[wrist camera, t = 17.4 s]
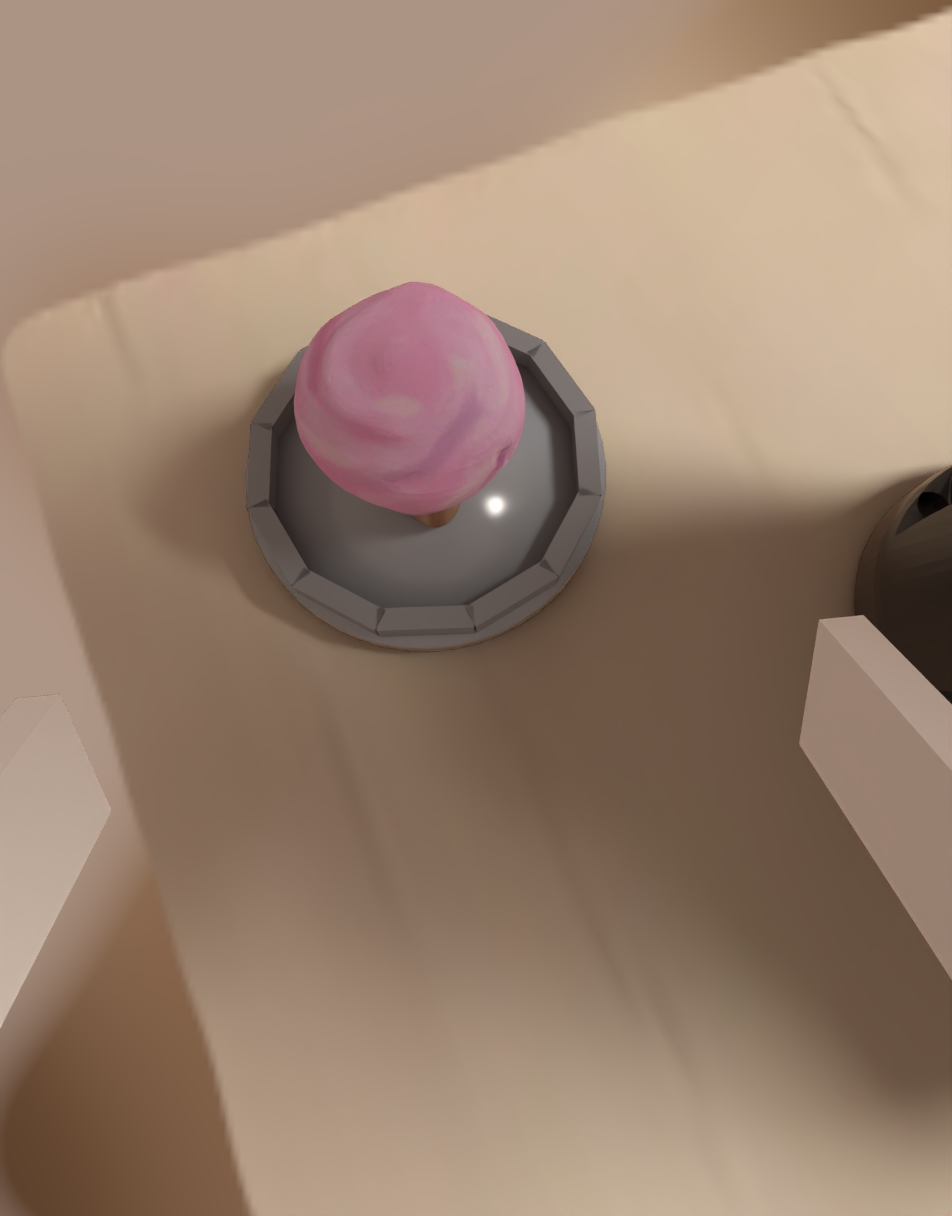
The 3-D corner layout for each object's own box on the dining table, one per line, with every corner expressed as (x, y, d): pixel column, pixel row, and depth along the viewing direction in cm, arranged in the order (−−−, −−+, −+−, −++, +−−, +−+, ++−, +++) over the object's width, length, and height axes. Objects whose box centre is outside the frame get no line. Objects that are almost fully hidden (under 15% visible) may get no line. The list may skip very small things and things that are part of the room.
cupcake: (297, 507, 35) (224, 394, 26) (390, 361, 37) (354, 204, 28) (464, 592, 34) (454, 508, 24) (552, 437, 36) (574, 302, 26)
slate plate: (589, 321, 39) (596, 290, 37) (615, 645, 35) (624, 633, 32) (261, 334, 39) (246, 304, 37) (245, 657, 35) (227, 647, 32)
